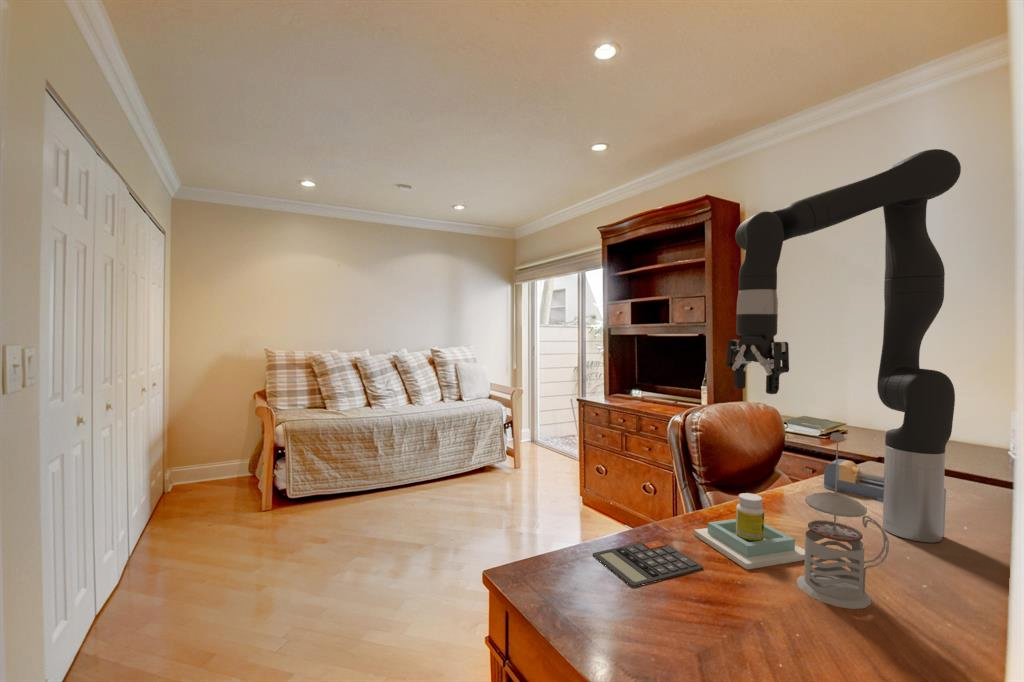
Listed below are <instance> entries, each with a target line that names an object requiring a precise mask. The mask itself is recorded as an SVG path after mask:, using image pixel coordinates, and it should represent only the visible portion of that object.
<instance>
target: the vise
mask: <svg viewBox="0 0 1024 682" xmlns="http://www.w3.org/2000/svg"><path fill="white" fill-rule="evenodd" d="M823 472H824V474H823V488H824V489H825V490H829V491H833V492H835V478H836V459H835V460H832V462H829V463H828V464H827V465H825V467H824V471H823ZM837 492H845V493H850V494H853V495H858V496H863V497H866V498H871V499H875V500H876V501H878V502H881V503H883V493H884V475H880V474H876V473H875V474H874V473H869V472H864V471H863V470H861V467H858V465H857V464H856V463H855V462H854V461H852V460H847V459H842V458H838V463H837Z"/></svg>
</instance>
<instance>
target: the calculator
mask: <svg viewBox="0 0 1024 682" xmlns="http://www.w3.org/2000/svg"><path fill="white" fill-rule="evenodd" d="M592 557H594V558H595V557H596V558H597V559H599V560H600V561H601V562H602V563H603V564H604V565H603V564H602V563H601V562H600V561H599V562H600V563H601V564H602V565H603V566H605V565H606V566H607V567H608V568H609V569H608V568H607V567H606V566H605V567H606V568H607V569H608V570H610V569H611V570H612V571H613V572H614V573H613V572H612V571H611V570H610V571H611V572H612V573H613V574H614V575H616V574H617V575H618V576H619V577H618V576H617V575H616V576H617V577H618V578H619V579H621V578H622V579H623V580H624V581H625V582H624V581H623V580H622V579H621V580H622V581H623V582H624V583H625V584H627V583H628V584H629V585H630V586H629V585H628V584H627V585H628V586H629V587H631V586H632V587H631V588H633V587H634V588H636V587H635V586H638V587H640V586H639V585H642V584H646V583H650V584H652V583H651V582H653V583H655V582H654V581H657V582H659V580H661V581H664V579H665V580H667V579H668V578H669V579H671V578H676V577H681V576H684V575H687V574H691V573H694V572H698V571H702V570H703V569H704V566H703V565H702V564H700V563H699V562H697V561H696V560H693V559H692V558H691V557H689V556H687V555H686V554H684V553H682V552H680V551H679V550H677V549H675V548H674V547H672V546H671V545H669V544H667V543H666V542H664V541H662V540H661V539H659V538H654V539H651V540H646V541H641V542H638V543H637V542H636V543H632V544H628V545H623V546H619V547H614V548H610V549H605V550H601V551H597V552H593V553H592ZM596 558H595V559H596ZM611 558H612V559H611ZM597 559H596V560H597ZM646 585H647V584H646ZM642 586H643V585H642Z"/></svg>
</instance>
